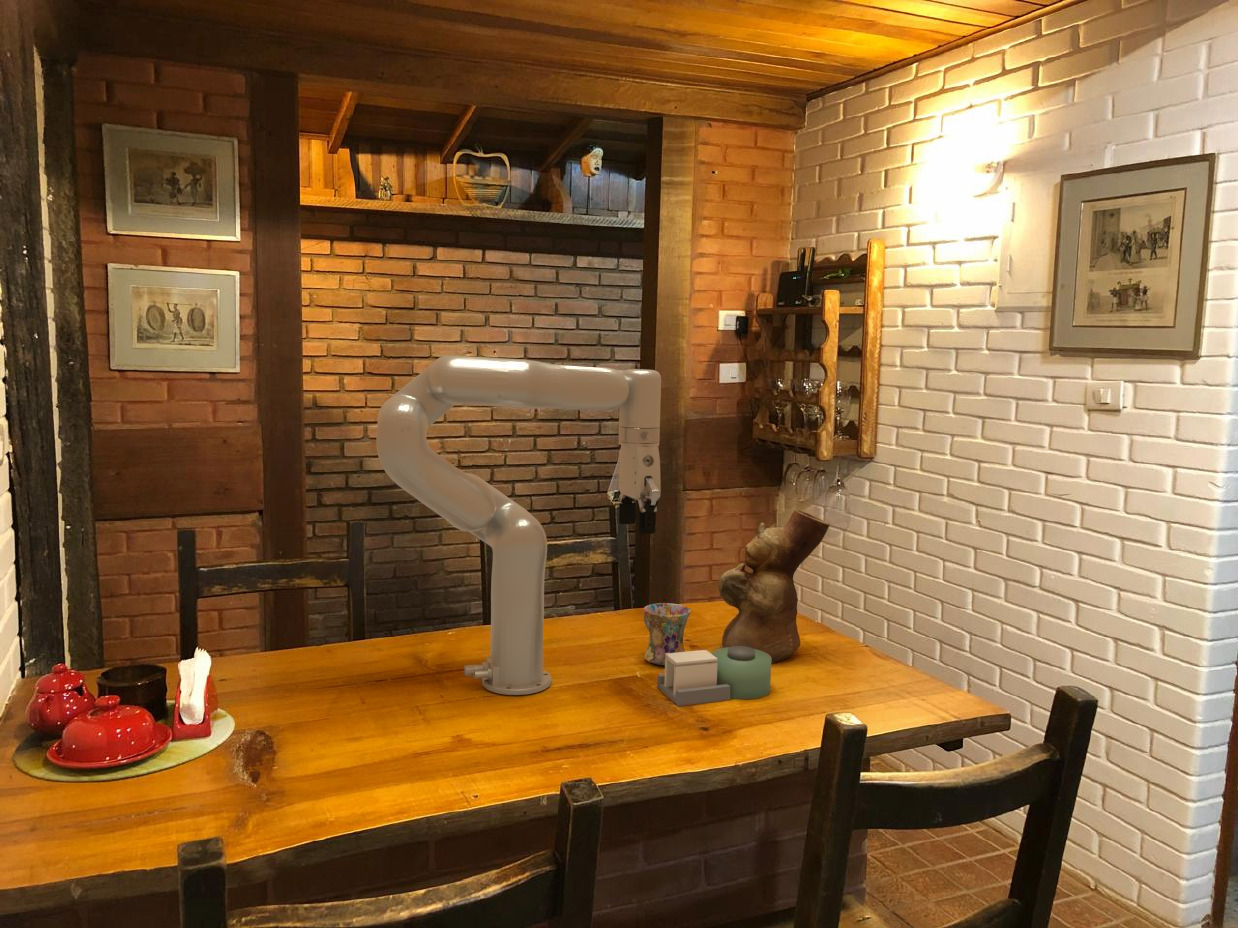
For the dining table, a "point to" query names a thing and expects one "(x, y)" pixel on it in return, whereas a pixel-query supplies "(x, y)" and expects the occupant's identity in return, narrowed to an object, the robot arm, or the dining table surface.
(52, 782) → the dining table surface
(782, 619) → the ceramic vessel
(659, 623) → the floral vase
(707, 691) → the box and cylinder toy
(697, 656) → the arch block
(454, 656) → the dining table surface
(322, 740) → the dining table surface
